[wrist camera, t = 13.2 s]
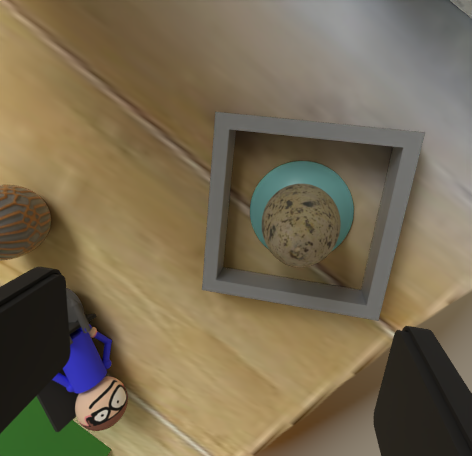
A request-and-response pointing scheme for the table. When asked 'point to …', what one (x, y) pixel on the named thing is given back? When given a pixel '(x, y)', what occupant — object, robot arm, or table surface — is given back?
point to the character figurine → (84, 379)
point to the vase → (21, 221)
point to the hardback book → (47, 437)
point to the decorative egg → (301, 225)
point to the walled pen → (318, 175)
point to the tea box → (464, 6)
